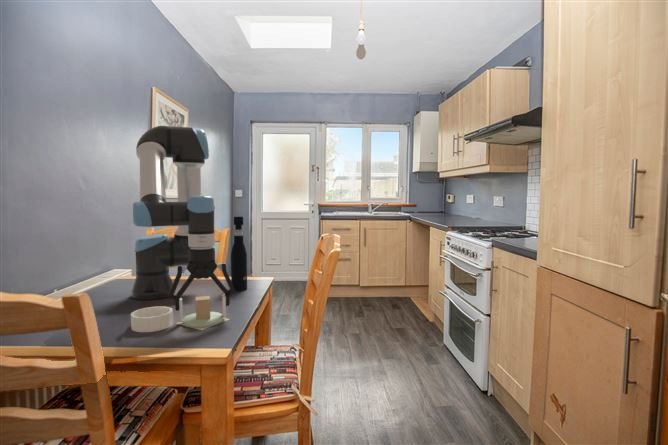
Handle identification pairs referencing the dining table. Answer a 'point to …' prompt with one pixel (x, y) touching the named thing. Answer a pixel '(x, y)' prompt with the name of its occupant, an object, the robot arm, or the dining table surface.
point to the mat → (204, 327)
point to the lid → (202, 315)
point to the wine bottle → (238, 258)
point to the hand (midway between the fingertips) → (203, 318)
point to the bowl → (151, 319)
